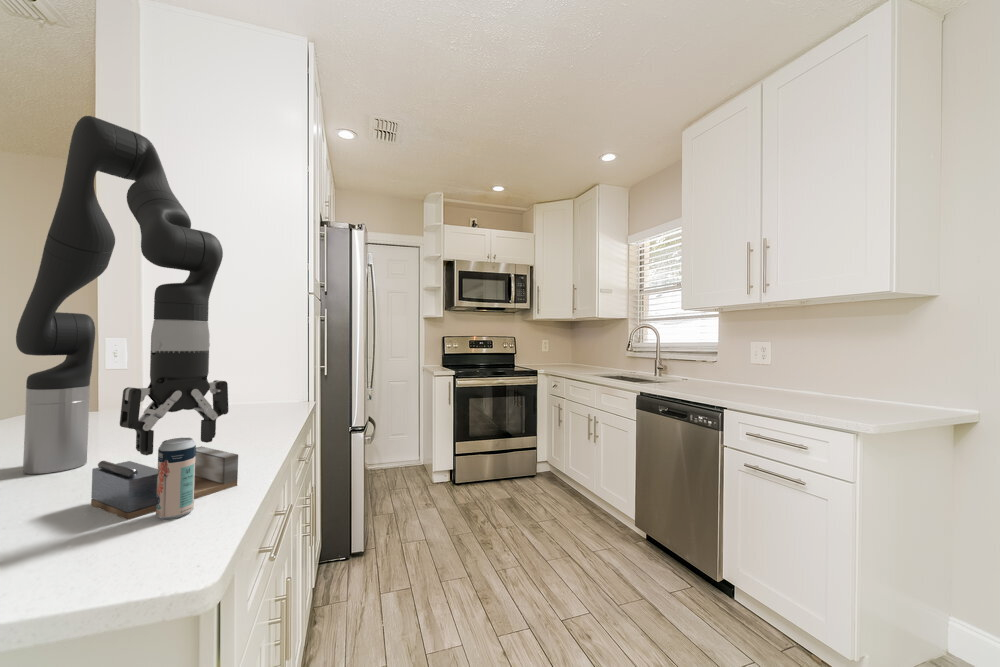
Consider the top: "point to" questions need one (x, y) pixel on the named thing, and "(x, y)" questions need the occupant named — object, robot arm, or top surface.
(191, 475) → the beer can
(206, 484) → the vise base
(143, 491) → the box
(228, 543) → the top surface
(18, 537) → the top surface
